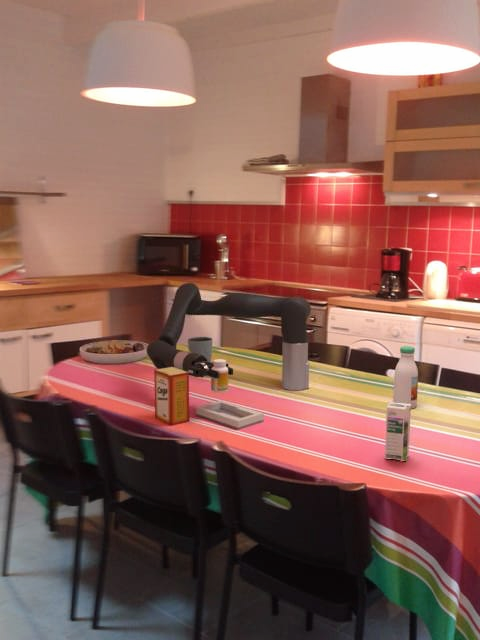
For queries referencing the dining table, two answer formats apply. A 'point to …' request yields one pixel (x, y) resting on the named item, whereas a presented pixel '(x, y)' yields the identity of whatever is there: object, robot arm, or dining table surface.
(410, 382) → the milk bottle
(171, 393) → the baking soda box
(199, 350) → the blue-grey cup
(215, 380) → the supplement bottle
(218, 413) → the gray rectangular tray
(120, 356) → the bowl
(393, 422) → the syrup box
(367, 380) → the dining table surface
